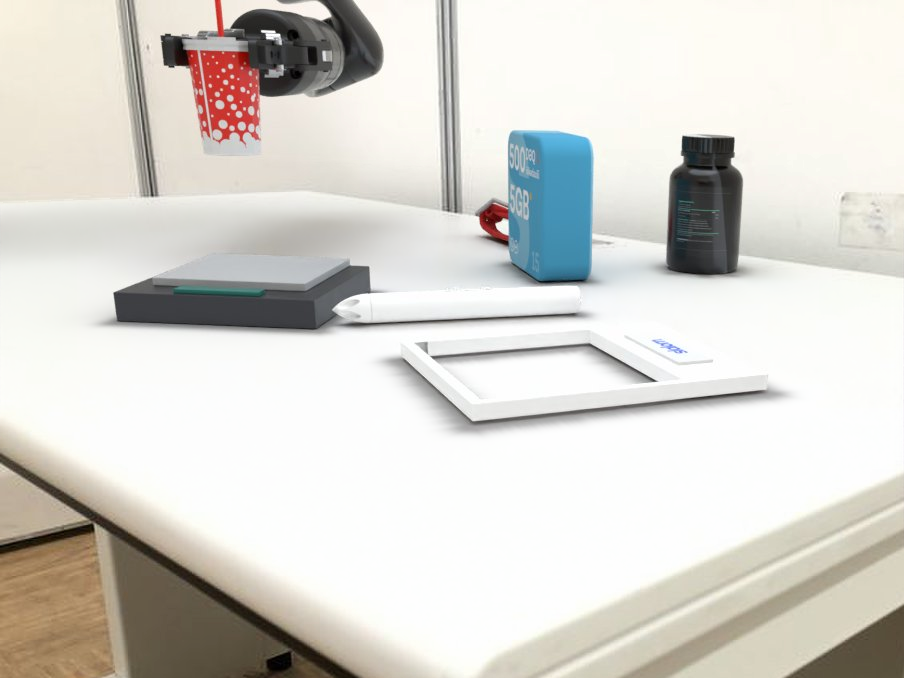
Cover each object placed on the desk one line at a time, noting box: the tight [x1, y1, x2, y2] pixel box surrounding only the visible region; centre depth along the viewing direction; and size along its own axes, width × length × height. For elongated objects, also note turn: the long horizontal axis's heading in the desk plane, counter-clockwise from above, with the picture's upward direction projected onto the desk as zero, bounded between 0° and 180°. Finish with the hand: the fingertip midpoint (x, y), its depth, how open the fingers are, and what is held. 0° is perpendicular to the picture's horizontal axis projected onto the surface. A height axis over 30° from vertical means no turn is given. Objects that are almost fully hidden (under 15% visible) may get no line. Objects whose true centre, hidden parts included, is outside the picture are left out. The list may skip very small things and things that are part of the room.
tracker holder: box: [474, 197, 509, 243], centre depth 116 cm, size 12×4×10 cm
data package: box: [507, 129, 595, 282], centre depth 98 cm, size 12×4×12 cm, turn 20°
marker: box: [332, 285, 582, 324], centre depth 80 cm, size 18×2×2 cm, turn 111°
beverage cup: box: [182, 0, 262, 157], centre depth 91 cm, size 6×6×14 cm
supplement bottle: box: [665, 133, 744, 275], centre depth 102 cm, size 7×7×12 cm
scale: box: [112, 252, 372, 330], centre depth 83 cm, size 14×14×3 cm
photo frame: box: [399, 321, 769, 422], centre depth 67 cm, size 15×1×18 cm
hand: (211, 52), depth 89 cm, fingers closed on beverage cup, 6 cm apart
